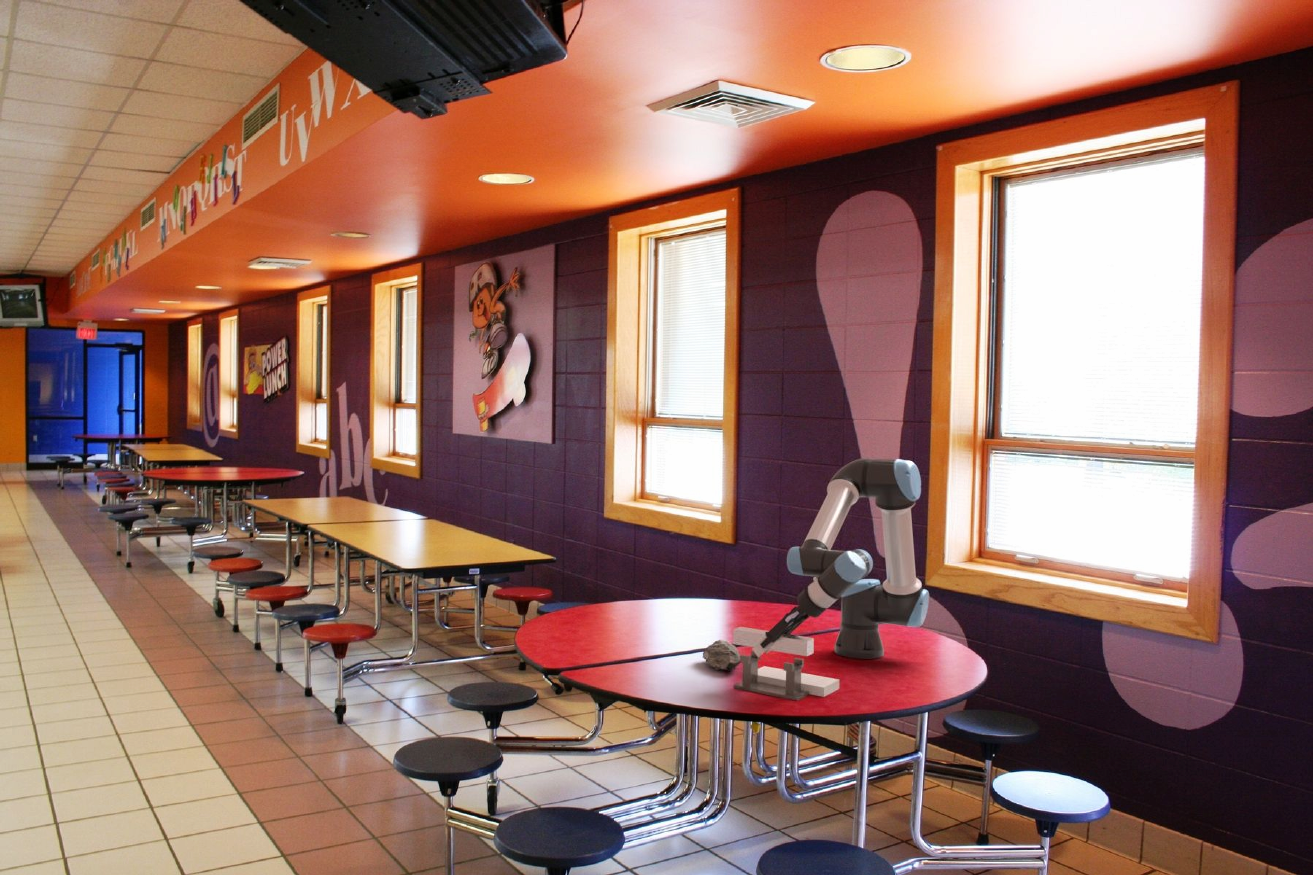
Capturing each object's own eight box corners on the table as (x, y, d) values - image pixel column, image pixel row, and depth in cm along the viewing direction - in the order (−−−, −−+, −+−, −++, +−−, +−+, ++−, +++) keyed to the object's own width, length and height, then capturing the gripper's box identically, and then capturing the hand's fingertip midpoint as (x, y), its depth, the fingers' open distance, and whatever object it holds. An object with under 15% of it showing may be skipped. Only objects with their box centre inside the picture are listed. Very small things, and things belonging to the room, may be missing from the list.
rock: (691, 654, 288) (710, 627, 291) (711, 673, 291) (730, 646, 294) (722, 669, 272) (742, 641, 274) (743, 689, 275) (763, 660, 278)
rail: (740, 640, 267) (740, 626, 267) (813, 653, 254) (813, 638, 254) (733, 643, 263) (733, 629, 263) (806, 656, 251) (807, 640, 251)
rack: (746, 682, 267) (747, 649, 267) (809, 694, 256) (810, 660, 256) (733, 687, 261) (734, 654, 261) (797, 700, 251) (798, 665, 251)
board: (764, 674, 276) (764, 666, 276) (839, 688, 263) (839, 679, 263) (747, 682, 268) (747, 673, 268) (823, 696, 255) (824, 687, 255)
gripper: (821, 581, 260) (766, 634, 270) (793, 591, 246) (735, 646, 255) (839, 603, 257) (782, 655, 267) (812, 614, 243) (753, 669, 253)
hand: (760, 650), depth 261 cm, fingers closed on rail, 4 cm apart
